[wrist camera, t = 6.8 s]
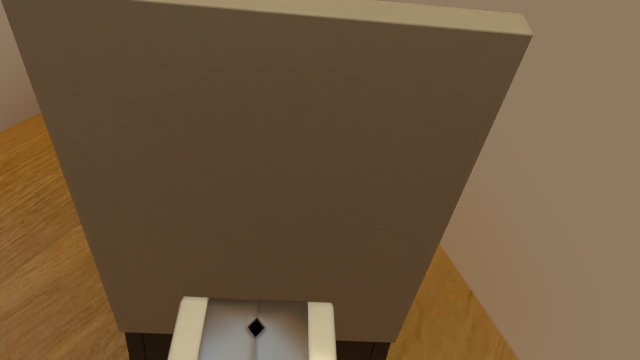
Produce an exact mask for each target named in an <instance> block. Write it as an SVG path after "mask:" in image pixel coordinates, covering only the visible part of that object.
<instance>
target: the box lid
mask: <svg viewBox="0 0 640 360" xmlns="http://www.w3.org/2000/svg"><path fill="white" fill-rule="evenodd" d="M1 1H2V4H3V6H4V9H5V12H6V15H7V18H8V21H9V23H10V26H11V29H12V32H13V35H14V37H15V40H16V43H17V46H18V49H19V51H20V54H21V57H22V60H23V62H24V65H25V68H26V71H27V73H28V77H29V79H30V82H31V85H32V88H33V90H34V93H35V96H36V99H37V102H38V104H39V107H40V110H41V113H42V116H43V118H44V121H45V124H46V127H47V130H48V132H49V135H50V138H51V141H52V144H53V146H54V149H55V152H56V155H57V158H58V160H59V163H60V166H61V169H62V172H63V174H64V177H65V180H66V183H67V186H68V188H69V191H70V194H71V197H72V200H73V202H74V205H75V208H76V211H77V214H78V216H79V219H80V222H81V225H82V228H83V230H84V233H85V236H86V239H87V241H88V244H89V247H90V250H91V253H92V255H93V258H94V261H95V264H96V267H97V269H98V272H99V275H100V278H101V281H102V283H103V286H104V289H105V292H106V295H107V297H108V300H109V303H110V306H111V309H112V311H113V314H114V317H115V320H116V323H117V325H118V328H119V331H120V332H134V333H159V334H173V333H174V329H175V324H176V320H177V316H178V311H179V307H180V303H181V301H182V299H183V297H184V296H188V297H207V298H224V299H239V300H254V301H258V300H280V301H306V302H324V303H332V305H333V309H334V325H335V340H340V341H366V342H391V343H394V342H395V341H396V339H397V336H398V334H399V332H400V330H401V327H402V325H403V323H404V321H405V319H406V316H407V314H408V312H409V310H410V307H411V305H412V303H413V301H414V299H415V296H416V294H417V292H418V290H419V287H420V285H421V283H422V281H423V278H424V276H425V274H426V272H427V270H428V267H429V265H430V263H431V261H432V258H433V256H434V254H435V252H436V250H437V247H438V245H439V243H440V241H441V238H442V236H443V234H444V232H445V229H446V227H447V225H448V223H449V220H450V218H451V216H452V214H453V212H454V209H455V207H456V205H457V203H458V201H459V198H460V196H461V194H462V191H463V189H464V187H465V185H466V183H467V180H468V178H469V176H470V174H471V172H472V169H473V167H474V165H475V163H476V160H477V158H478V156H479V154H480V151H481V149H482V147H483V145H484V142H485V140H486V138H487V136H488V134H489V131H490V129H491V127H492V125H493V123H494V120H495V118H496V116H497V114H498V111H499V109H500V107H501V105H502V103H503V100H504V98H505V96H506V94H507V91H508V89H509V87H510V85H511V83H512V80H513V78H514V76H515V73H516V71H517V69H518V67H519V65H520V63H521V60H522V58H523V56H524V54H525V51H526V49H527V47H528V45H529V42H530V40H531V38H532V32H531V30H530V28H529V26H528V24H527V22H526V20H525V18H524V16H523V15H522V14H515V13H506V12H495V11H484V10H473V9H462V8H451V7H440V6H429V5H418V4H407V3H397V2H386V1H374V0H1Z"/></svg>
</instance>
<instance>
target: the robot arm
mask: <svg viewBox="0 0 640 360" xmlns="http://www.w3.org/2000/svg"><path fill="white" fill-rule="evenodd" d="M168 360H337V356H336V340H335V325H334V309H333V305H332V303H324V302H306V301H280V300H258V301H254V300H239V299H224V298H207V297H188V296H184V297H183V299H182V301H181V303H180V307H179V311H178V316H177V320H176V324H175V329H174V333H173V338H172V342H171V346H170V351H169V355H168Z"/></svg>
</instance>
